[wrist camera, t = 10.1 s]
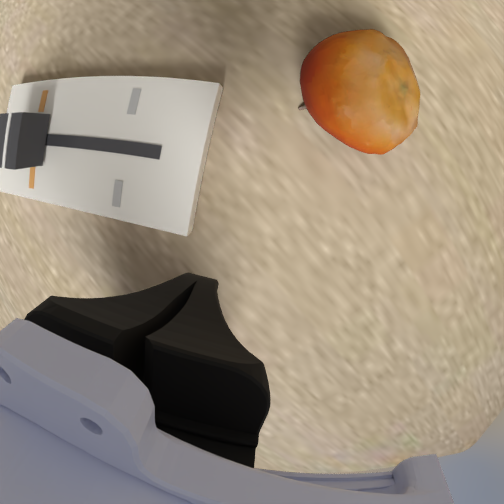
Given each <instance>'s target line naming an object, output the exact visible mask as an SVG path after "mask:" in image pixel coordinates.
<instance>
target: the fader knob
mask: <svg viewBox="0 0 504 504" xmlns="http://www.w3.org/2000/svg"><path fill="white" fill-rule="evenodd" d="M49 119H50V114H42V113H29V112H18V113H5V114H0V168H6V169H13V170H17V169H23V168H30V167H37V166H43V159H44V151H45V143H46V137H47V130H48V125H49Z"/></svg>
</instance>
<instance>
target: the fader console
mask: <svg viewBox="0 0 504 504" xmlns="http://www.w3.org/2000/svg"><path fill="white" fill-rule="evenodd" d="M222 91H223V87H222V86H221V85H220V83H214V82H207V81H198V80H189V79H179V78H166V77H148V76H91V77H74V78H62V79H52V80H44V81H36V82H30V83H23V84H17V85H13V86H12V90H11V95H10V99H9V104H8V109H7V113H18V112H29V113H42V114H50V119H49V125H48V130H47V137H46V143H45V151H44V159H43V166H37V167H30V168H23V169H17V170H13V169H6V168H0V191H1V192H5V193H9V194H13V195H17V196H21V197H26V198H30V199H34V200H38V201H42V202H46V203H50V204H55V205H59V206H63V207H67V208H71V209H75V210H79V211H84V212H88V213H92V214H96V215H100V216H104V217H108V218H113V219H117V220H121V221H125V222H129V223H133V224H137V225H142V226H146V227H150V228H154V229H158V230H162V231H166V232H171V233H175V234H179V235H183V236H188V235H189V234H190V233H191V232H192V230H193V225H194V219H195V214H196V208H197V203H198V198H199V193H200V187H201V182H202V178H203V173H204V168H205V163H206V159H207V154H208V149H209V145H210V140H211V136H212V132H213V127H214V123H215V119H216V115H217V111H218V107H219V103H220V99H221V95H222Z"/></svg>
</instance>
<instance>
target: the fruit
mask: <svg viewBox="0 0 504 504" xmlns="http://www.w3.org/2000/svg"><path fill="white" fill-rule="evenodd" d="M300 84H301V90H302V96H303V100H304V103H305V105H304V106H301V107H299V110H302V109H307V110H308V112H309V113H310V115H311V116H312V117H313V119H314V120H315V121H316V123H317V124H318V125H320V126H321V127H322V128H323V129H324V130H325V131H327V132H328V133H329V134H331V135H332V136H334V137H335V138H337V139H338V140H340V141H341V142H343V143H344V144H346V145H348V146H349V147H351V148H354V149H356V150H359V151H361V152H364V153H368V154H385V153H386V152H388V151H390V150H392V149H393V148H395V147H396V146H397V145H398V144H400V143H402V142H403V141H404V140H405V139H406V138H407V137H409V136H410V135H411V133H412V132H413V131H414V129H415V128H416V127H417V118H418V112H419V103H420V90H419V86H418V83H417V79H416V76H415V74H414V71H413V68H412V66H411V63H410V61H409V58H408V56H407V54H406V53H405V51H404V49H403V48H402V47H401V46H400V45H399V44H398V43H397V42H396V41H395V40H393V39H392V38H389V37H386V36H385V35H384V34H383V33H381V32H379V31H377V30H373V29H369V30H355V31H347V32H342V33H338V34H335V35H332V36H330V37H328V38H326V39H325V40H323V41H321V42H320V43H318V44H317V45H316V46H315V47H314V48H313V49H312V50H311V51H310V52H309V54H308V55H307V56H306V58H305V59H304V61H303V64H302V67H301V73H300Z"/></svg>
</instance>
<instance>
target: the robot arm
mask: <svg viewBox="0 0 504 504" xmlns="http://www.w3.org/2000/svg"><path fill="white" fill-rule="evenodd" d="M218 284H219V283H218V281H217V280H215V279H211V278H207V277H203V276H199V275H195V274H192V273H185V274H183V275H181V276H178V277H176V278H174V279H172V280H169V281H167V282H165V283H162V284H160V285H157V286H154V287H151V288H149V289H146V290H143V291H139V292H135V293H131V294H127V295H121V296H114V297H106V298H67V297H57V296H50V297H49V298H48V299H46V300H45V301H44V302H42V303H41V304H40V305H38V306H37V307H36V308H35V309H33V310H32V311H31V312H30V313H28V314H27V316H26V318H25V319H24V320H23V319H18V318H16V319H15V320H13V321H12V322H11V323H10V324H8V325H7V326H6V327H5V328H3V329H2V330H1V331H0V504H454V502H453V499H452V496H451V493H450V490H449V488H448V485H447V482H446V480H445V477H444V474H443V471H442V468H441V466H440V463H439V461H438V458H437V455H436V454H429V455H423V456H415V457H410V458H407V459H405V460H403V461H402V462H400V463H399V464H398V465H397V466H396V467H395V468H394V470H393V471H387V472H376V473H358V474H315V473H296V472H284V471H274V470H266V469H258V468H254V461H255V449H256V447H257V445H258V438H259V432H260V429H261V427H262V425H263V423H264V421H265V419H266V416H267V414H268V412H269V408H270V390H269V383H268V379H267V374H266V370H265V367H264V364H263V362H262V361H260V360H259V359H258V358H256V357H255V356H254V355H253V354H251V353H250V352H249V351H248V350H246V349H245V348H244V347H243V345H242V344H241V343H240V342H239V341H238V340H237V339H236V337H235V336H234V335H233V334H232V332H231V330H230V329H229V327H228V325H227V323H226V321H225V319H224V316H223V314H222V311H221V308H220V304H219V300H218V294H217V289H218Z"/></svg>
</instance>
